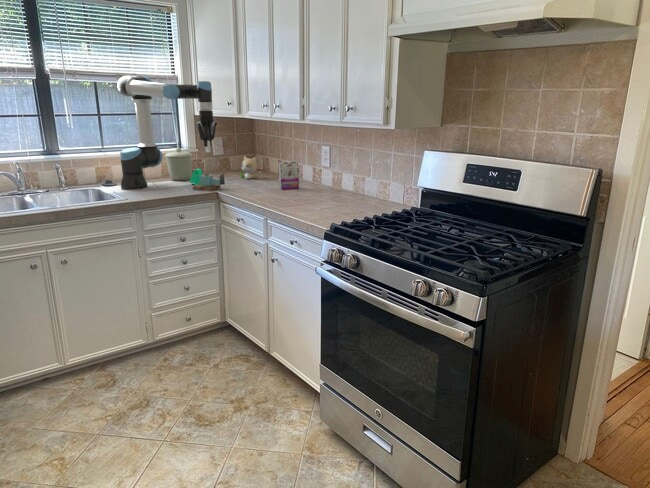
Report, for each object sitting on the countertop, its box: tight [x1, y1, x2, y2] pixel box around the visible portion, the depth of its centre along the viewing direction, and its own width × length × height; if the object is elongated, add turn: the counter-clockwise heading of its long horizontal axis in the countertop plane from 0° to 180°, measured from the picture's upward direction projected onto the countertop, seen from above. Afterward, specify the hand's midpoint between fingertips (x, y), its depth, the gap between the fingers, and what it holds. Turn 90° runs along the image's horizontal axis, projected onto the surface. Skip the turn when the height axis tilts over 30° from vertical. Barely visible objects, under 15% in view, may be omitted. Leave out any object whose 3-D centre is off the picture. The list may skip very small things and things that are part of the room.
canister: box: [164, 147, 194, 182], centre depth 319 cm, size 18×18×21 cm
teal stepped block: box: [200, 173, 226, 186], centre depth 290 cm, size 6×14×6 cm, turn 85°
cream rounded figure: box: [239, 155, 262, 180], centre depth 325 cm, size 15×10×15 cm
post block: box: [192, 171, 222, 192], centre depth 291 cm, size 14×10×10 cm
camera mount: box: [189, 168, 203, 186], centre depth 305 cm, size 12×8×10 cm, turn 60°
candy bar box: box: [278, 160, 300, 191], centre depth 292 cm, size 11×5×16 cm, turn 112°
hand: (208, 152), depth 279 cm, fingers closed
